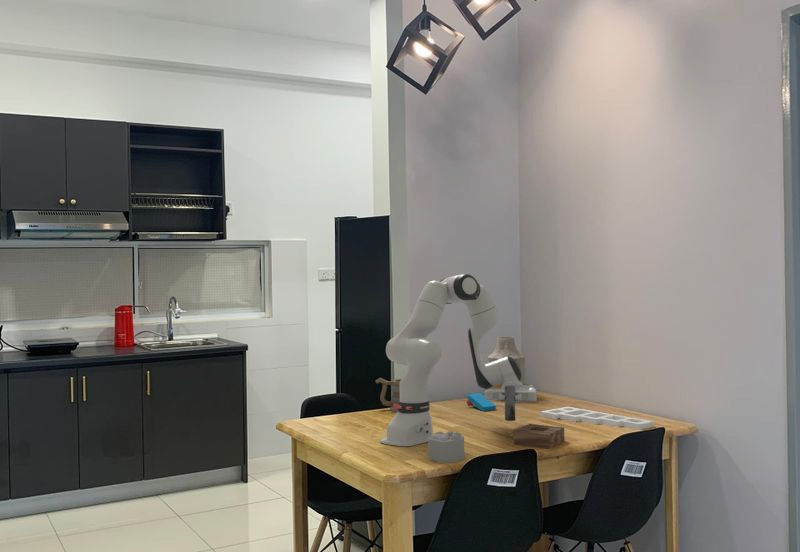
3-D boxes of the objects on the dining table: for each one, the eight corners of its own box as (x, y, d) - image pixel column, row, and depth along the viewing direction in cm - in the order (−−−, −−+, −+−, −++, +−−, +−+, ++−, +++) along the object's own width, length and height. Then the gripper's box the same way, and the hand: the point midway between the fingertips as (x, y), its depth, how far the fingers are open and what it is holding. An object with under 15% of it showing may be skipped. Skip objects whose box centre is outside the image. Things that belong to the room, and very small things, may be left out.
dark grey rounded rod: (512, 421, 284) (512, 387, 285) (503, 420, 287) (502, 386, 287) (517, 419, 288) (516, 385, 288) (507, 418, 290) (507, 385, 290)
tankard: (420, 408, 353) (420, 376, 353) (414, 413, 341) (413, 380, 341) (380, 406, 359) (379, 375, 359) (372, 411, 347) (371, 379, 347)
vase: (505, 393, 390) (504, 335, 390) (532, 397, 376) (531, 336, 376) (481, 397, 378) (479, 337, 378) (508, 402, 364) (507, 339, 364)
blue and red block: (494, 419, 346) (474, 403, 361) (496, 405, 344) (476, 390, 360) (481, 421, 343) (461, 404, 358) (483, 407, 341) (463, 391, 357)
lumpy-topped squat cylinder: (424, 458, 257) (423, 433, 257) (450, 452, 266) (449, 427, 266) (446, 464, 250) (445, 438, 250) (472, 456, 259) (471, 431, 259)
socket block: (549, 448, 268) (549, 434, 268) (513, 444, 276) (513, 430, 276) (564, 440, 279) (564, 427, 279) (530, 436, 287) (529, 423, 287)
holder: (654, 428, 301) (653, 421, 301) (625, 434, 291) (625, 427, 291) (567, 412, 338) (567, 406, 338) (540, 417, 327) (540, 411, 327)
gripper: (485, 384, 302) (482, 389, 288) (536, 385, 298) (536, 390, 285) (485, 399, 302) (482, 405, 288) (537, 400, 298) (536, 406, 285)
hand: (509, 398), depth 286 cm, fingers closed on dark grey rounded rod, 4 cm apart
